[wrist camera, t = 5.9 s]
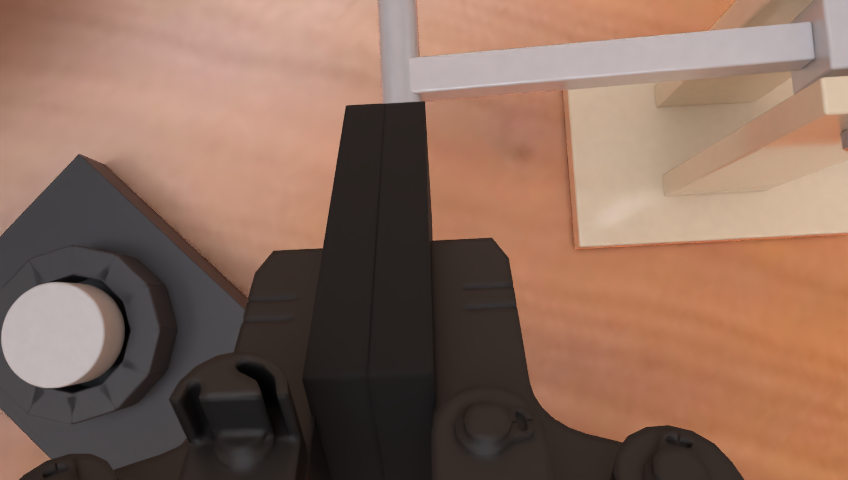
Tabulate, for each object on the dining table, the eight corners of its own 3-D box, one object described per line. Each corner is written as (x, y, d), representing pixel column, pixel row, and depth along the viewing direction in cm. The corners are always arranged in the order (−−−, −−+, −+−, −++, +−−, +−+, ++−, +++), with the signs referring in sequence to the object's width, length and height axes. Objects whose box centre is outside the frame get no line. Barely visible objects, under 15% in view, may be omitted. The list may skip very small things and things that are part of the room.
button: (8, 336, 27) (-22, 338, 26) (77, 263, 28) (52, 260, 26) (77, 404, 27) (51, 411, 25) (146, 329, 27) (126, 331, 25)
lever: (392, 188, 21) (378, 173, 19) (383, 5, 22) (369, -31, 19) (900, 152, 20) (954, 130, 17) (874, -43, 20) (925, -90, 18)
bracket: (574, 249, 31) (680, 201, 17) (559, 58, 32) (649, -136, 18) (842, 235, 30) (1173, 174, 17) (820, 42, 31) (1115, -167, 17)
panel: (-48, 323, 31) (-119, 325, 27) (104, 164, 32) (55, 143, 28) (136, 505, 30) (89, 535, 26) (289, 337, 31) (266, 341, 27)
